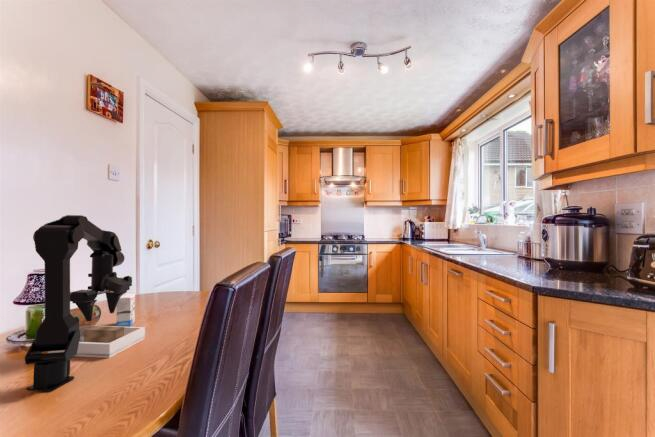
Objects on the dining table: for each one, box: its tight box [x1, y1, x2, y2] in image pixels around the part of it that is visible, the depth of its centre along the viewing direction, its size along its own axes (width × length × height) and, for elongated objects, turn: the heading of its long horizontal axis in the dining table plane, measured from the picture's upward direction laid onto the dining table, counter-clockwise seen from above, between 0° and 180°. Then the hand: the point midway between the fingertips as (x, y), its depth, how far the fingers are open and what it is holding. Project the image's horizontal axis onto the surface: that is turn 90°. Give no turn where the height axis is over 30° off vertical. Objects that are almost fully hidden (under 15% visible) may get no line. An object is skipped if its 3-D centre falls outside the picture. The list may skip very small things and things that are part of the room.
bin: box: [47, 325, 146, 359], centre depth 101 cm, size 16×20×4 cm
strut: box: [79, 325, 125, 343], centre depth 101 cm, size 14×4×5 cm, turn 86°
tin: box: [70, 304, 102, 327], centre depth 118 cm, size 15×3×8 cm, turn 168°
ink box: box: [116, 293, 136, 327], centre depth 123 cm, size 9×5×12 cm, turn 22°
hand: (101, 317), depth 101 cm, fingers open, 9 cm apart
